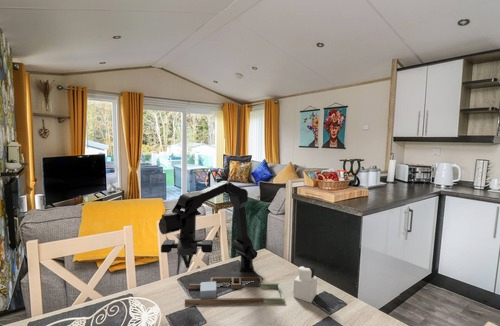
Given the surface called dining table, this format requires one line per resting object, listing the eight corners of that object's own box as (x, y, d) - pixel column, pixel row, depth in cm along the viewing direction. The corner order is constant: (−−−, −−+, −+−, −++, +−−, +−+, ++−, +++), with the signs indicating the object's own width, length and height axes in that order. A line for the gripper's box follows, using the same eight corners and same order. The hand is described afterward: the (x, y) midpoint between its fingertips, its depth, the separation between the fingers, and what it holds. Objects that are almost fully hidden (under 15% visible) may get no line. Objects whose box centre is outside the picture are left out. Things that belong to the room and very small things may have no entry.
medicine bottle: (299, 288, 107) (300, 260, 106) (316, 294, 103) (318, 265, 102) (293, 297, 101) (294, 267, 100) (311, 303, 97) (312, 273, 96)
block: (200, 291, 103) (200, 282, 103) (215, 290, 104) (215, 281, 104) (200, 301, 97) (200, 291, 97) (216, 300, 98) (216, 290, 98)
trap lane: (191, 281, 110) (191, 277, 110) (277, 280, 113) (277, 276, 113) (184, 304, 95) (184, 300, 95) (284, 302, 97) (284, 298, 97)
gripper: (156, 235, 89) (156, 279, 90) (211, 236, 90) (210, 278, 92) (164, 225, 100) (164, 263, 101) (213, 225, 101) (212, 263, 103)
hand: (187, 267), depth 99 cm, fingers closed
